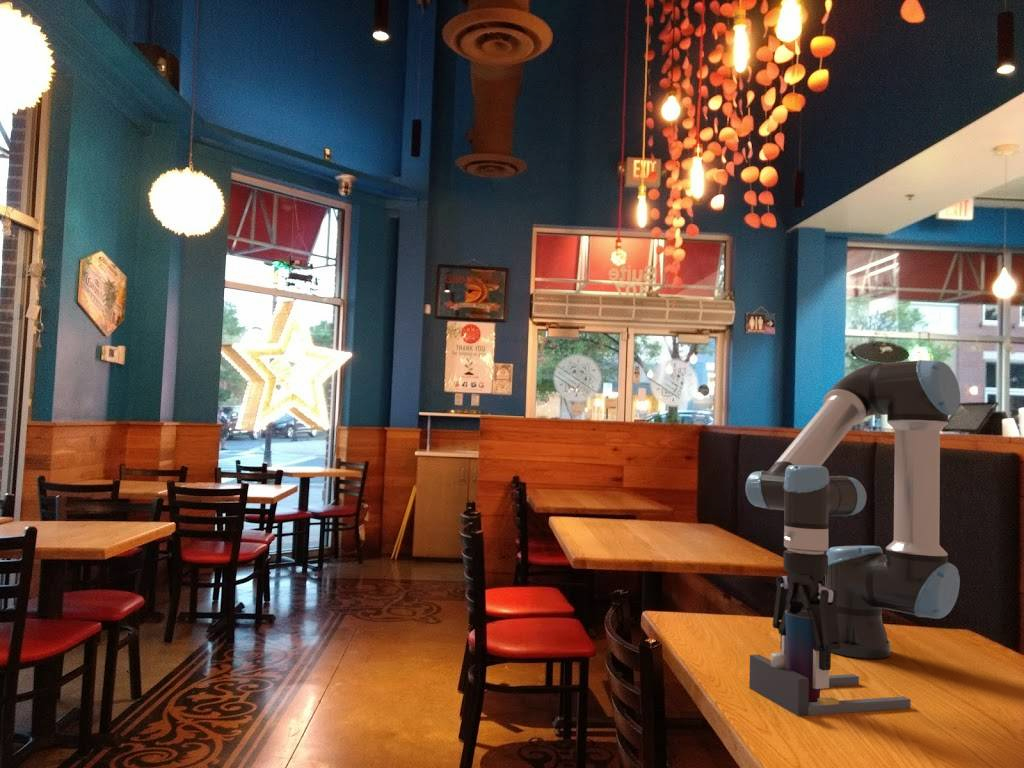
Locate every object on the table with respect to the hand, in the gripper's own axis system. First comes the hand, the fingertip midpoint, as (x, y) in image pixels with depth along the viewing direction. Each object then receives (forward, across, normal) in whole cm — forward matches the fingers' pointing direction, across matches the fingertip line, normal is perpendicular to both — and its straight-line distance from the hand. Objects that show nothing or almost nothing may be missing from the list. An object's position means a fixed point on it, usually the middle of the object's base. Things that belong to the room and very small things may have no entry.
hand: (804, 679), depth 132 cm
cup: (+4, 0, 0) cm, 4 cm away
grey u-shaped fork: (+3, 0, +4) cm, 6 cm away
